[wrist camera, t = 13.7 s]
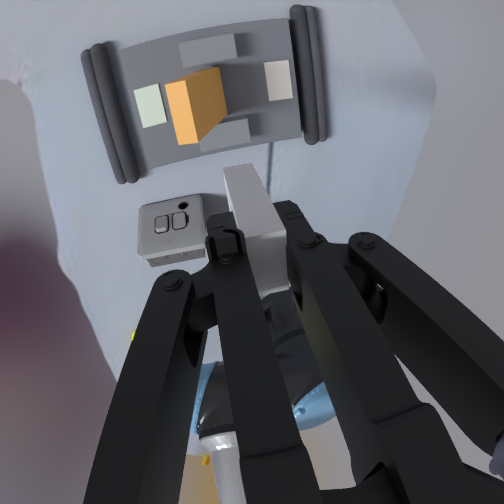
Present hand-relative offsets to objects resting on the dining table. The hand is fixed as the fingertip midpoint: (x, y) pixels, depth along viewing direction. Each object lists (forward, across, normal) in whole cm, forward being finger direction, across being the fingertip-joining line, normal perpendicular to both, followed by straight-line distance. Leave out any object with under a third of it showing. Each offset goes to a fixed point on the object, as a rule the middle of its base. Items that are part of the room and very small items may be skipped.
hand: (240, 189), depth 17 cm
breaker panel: (+27, -1, -2) cm, 27 cm away
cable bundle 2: (+27, -13, -3) cm, 30 cm away
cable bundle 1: (+27, +12, -2) cm, 30 cm away
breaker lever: (+23, -1, -2) cm, 23 cm away
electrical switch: (+28, +8, +15) cm, 32 cm away
